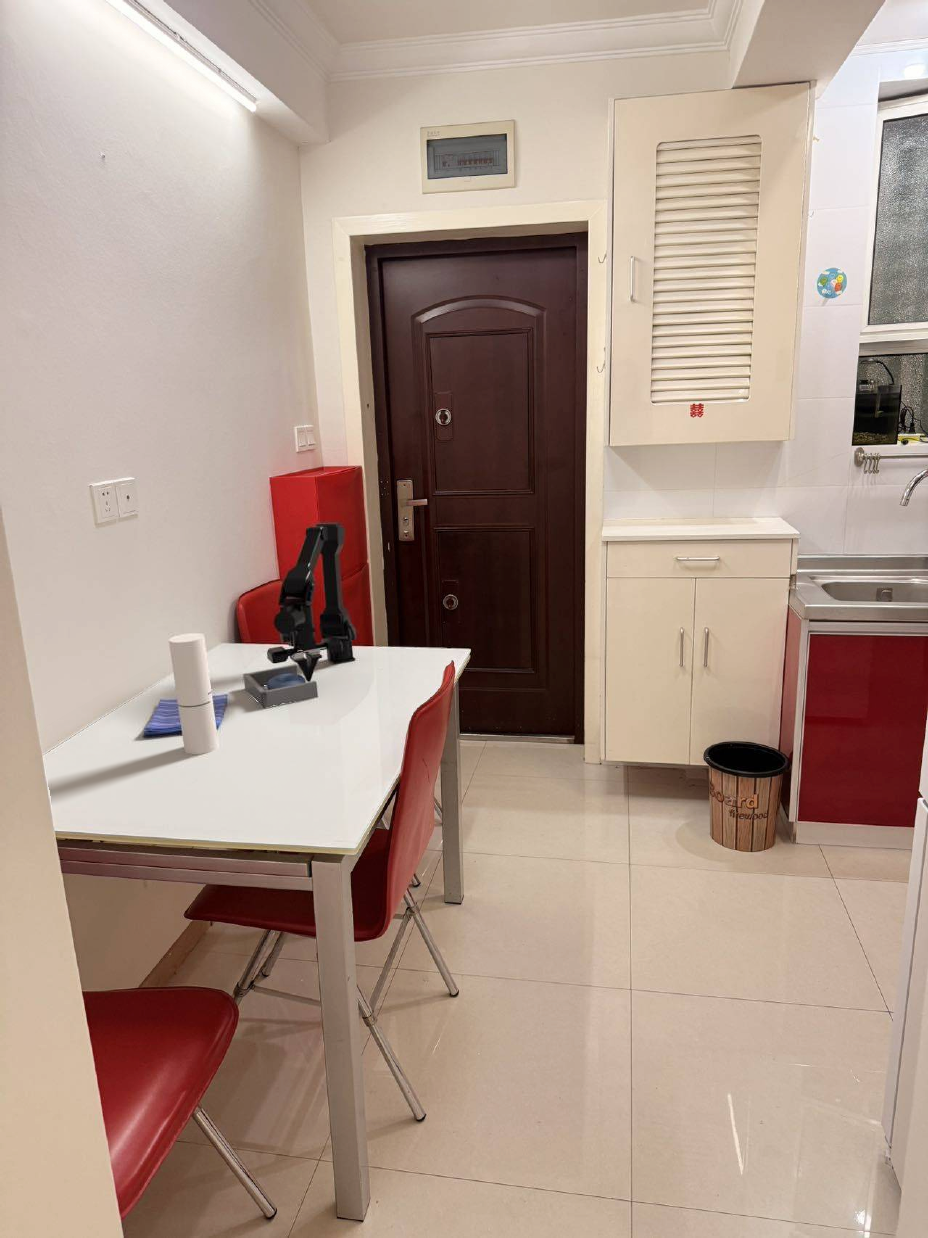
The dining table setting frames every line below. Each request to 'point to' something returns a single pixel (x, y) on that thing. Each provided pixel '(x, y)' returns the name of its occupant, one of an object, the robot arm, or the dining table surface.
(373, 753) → the dining table surface
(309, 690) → the box
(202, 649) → the cylindrical container
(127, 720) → the dining table surface
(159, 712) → the dish towel
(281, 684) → the doughnut
